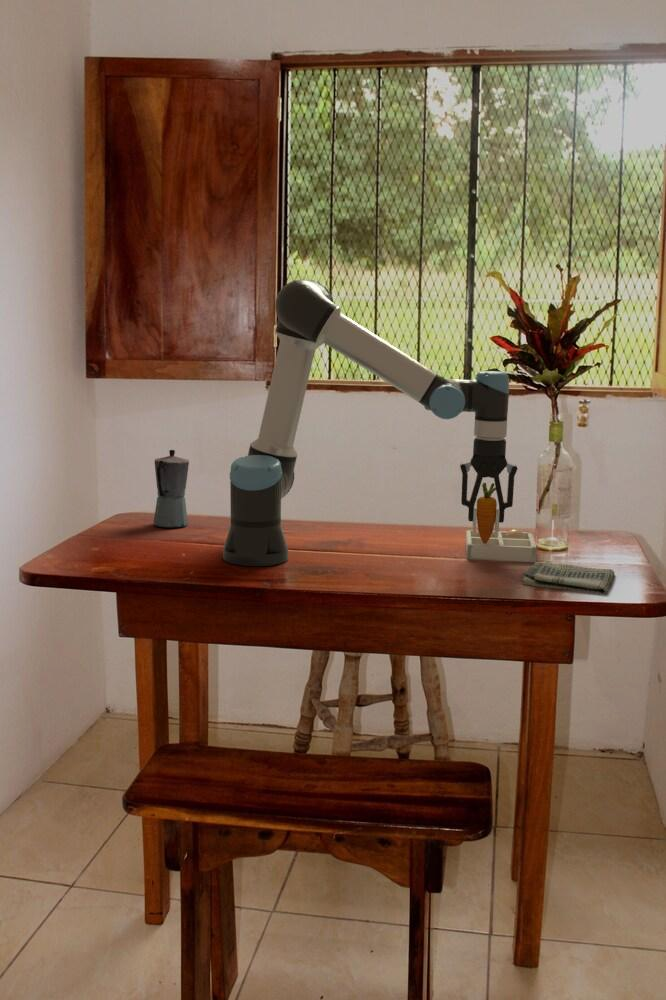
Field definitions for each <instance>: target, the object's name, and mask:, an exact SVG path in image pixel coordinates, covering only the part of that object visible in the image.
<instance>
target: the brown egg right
mask: <svg viewBox="0 0 666 1000" xmlns="http://www.w3.org/2000/svg"><path fill="white" fill-rule="evenodd" d="M507 532H508V533H507V534H506V537H505V538H510V539H524V534H523V533H522V532H523V531H521V530H520V529H517V528H513V529H510V530H509V531H507Z"/></svg>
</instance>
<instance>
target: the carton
mask: <svg viewBox="0 0 666 1000" xmlns="http://www.w3.org/2000/svg"><path fill="white" fill-rule="evenodd" d="M477 530H478V529H476V532H477ZM508 532H509V531H504V530H503V531H502V530H499V532H498V537H495V530H493V532H492V533H493V538H489V540H488V542H487V543H486V544H484V543H483V542H482V540H481V537H475V536H473V535H472V529H466V530H465V551H466V560H470V561H471V560H473V561H493V562H494V561H495V562H499V561H500V562H520V563H535V562H537V545H536V541H535V539H534V536H533V533H532V532H530V531H529V532H526V531H521V532H522V533H523V534H524V539H510V538H505V537H506V534H507V533H508Z"/></svg>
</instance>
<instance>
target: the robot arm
mask: <svg viewBox="0 0 666 1000" xmlns="http://www.w3.org/2000/svg"><path fill="white" fill-rule="evenodd" d="M274 307H275V308H274V309H275V313H276V316H277V318H278V320H277V322H276V323H277V324H276V328H275V334H276V335H277V336H276V337H278V339H279V345H278V349H277V354H276V357H275V363H274V365H273V366H274V367H273V370H272V375H271V380H270V384H269V389H268V392H267V396H266V397H267V398H266V402H265V406H264V411H263V415H262V420H261V424H260V428H259V433H258V437H257V439H255V440H253V441H252V442H250V445H249V449H248V452H247V455H245V456H240V457H237V458H236V459H235V460H234V461H232V463H231V465H230V472H229V480H230V483H229V484H230V486H229V487H230V526H229V527H230V528H229V531H228V534H227V537H226V540H225V543H224V546H223V549H222V559H223V561H225V562H226V563H229V564H231V565H235V566H242V567H243V566H244V567H267V566H274V565H279V564H283V563H285V562H287V561H288V560H289V548H288V547H289V546H288V544H287V541H286V539H285V535H284V531H283V529H282V499H283V498H284V497H285V496H287V494H288V493H289V492H290V491H291V489H292V487H293V485H294V481H295V466H296V461H297V458H298V453H297V451H296V450H295V448H294V443H295V438H296V435H297V431H298V425H299V421H300V417H301V413H302V408H303V404H304V400H305V396H306V391H307V388H308V387H307V386H308V383H309V378H310V374H311V369H312V366H313V361H314V357H315V353H316V349H318V348H319V347H321V346H323V344H325V346H328V347H330V348H331V349H333V350H334V351H336V352H338V353H340V354H341V355H343V356H344V357H345V358H347V359H349V360H350V361H352V362H353V363H356V364H357V365H359V366H360V367H362V368H363V369H364V370H366V371H368V372H370V373H371V374H372V375H374V376H376V377H378V378H379V379H381V380H382V381H384V382H386V383H387V384H389V385H391V386H392V387H393V388H396V390H399V392H402V393H403V394H405V395H406V396H408V397H410V398H411V399H412V400H415V401H416V402H418V403H419V404H421V405H422V406H424V407H423V408H424V409H425V410H426V411H431V413H433V414H434V416H436V417H438V418H440V419H442V420H451V419H454V418H457V417H458V416H459V415H460V414H461V413H462V412H465V413H466V412H468V413H474V428H473V430H474V431H473V435H474V437H475V438H474V439H473V445H472V446H473V449H472V450H473V451H472V457H471V458H470V461H467V462H461V463H460V465H459V467H460V471H461V475H462V477H461V478H462V480H461V505H462V506H465V507H467V508H468V514H467V516H468V517H467V518H468V521H469V522H472V529H471V530H472V535H473V536H476V530H477V506H475V505H476V503H477V499H478V498H477V497H478V495H479V492H480V487H481V486H482V485H481V484H482V481H483V478H491V479H493V480H494V488H495V487H496V490H495V491H496V496H497V502H498V507H497V508H496V518H495V524H494V531H495V537H498V532H499V531H500V530H499V529H500V528H499V527H500V523H501V524H502V523H504V521H505V510H506V509H507V508H508V509H509V508H512V507H513V503H514V489H515V488H514V487H515V476H516V474H517V471H518V466H517V465H516V464H511V463H509V462H508V460H507V459H506V452H507V440H506V439H505V438H506V437H507V433H508V429H507V428H508V411H509V410H508V409H509V396H510V390H509V389H510V376H509V375H508V374H507V372H505V371H497V370H495V371H494V370H488V371H487V370H486V371H485V370H482V371H481V370H480V371H478V372H477V374H476V377H475V379H459V378H458V379H457V378H456V379H455V378H445V377H443V376H442V375H440V374H438V373H436V372H435V371H433V370H431V369H430V368H429V367H427V366H425V365H424V364H422V363H421V362H419V361H417V360H416V359H414V358H412V357H411V356H410V355H408V354H406V353H405V352H403V351H401V350H400V349H399V348H397V347H395V346H393V345H392V344H391V343H389V342H387V341H386V340H385V339H382V338H381V337H379V336H378V335H376V334H375V333H373V332H371V331H370V330H368V329H367V328H365V327H363V326H362V325H360V324H359V323H358V322H355V321H354V320H353V319H351V318H349V317H347V316H346V315H344V314H343V313H342V311H341V307H340V306H339V305H337V304H336V303H335V302H334V299H333V296H332V293H330V291H329V290H328V288H327V287H326V286H325V285H324V284H322V283H321V282H318V281H316V280H312V279H296V280H292V281H290V282H288V283H286V284H285V285H284V286H282V288H281V289H280V291H278V293H277V296H276V300H275V305H274ZM471 467H472V468H473V470H474V471H475V472H476V477H475V481H474V485H473V487H472V488H473V489H472V492H471V495H470V499H469V500H468V479H469V478H468V477H469V474H468V473H469V472H470V470H471ZM505 468H506V471H507V473H508V477H507V479H508V480H507V481H508V482H507V495H506V501H504V496H503V491H502V490H503V489H502V486H501V481H500V480H501V479H500V474H501V473H502V472H503V471H504V470H505Z"/></svg>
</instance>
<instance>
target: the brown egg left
mask: <svg viewBox="0 0 666 1000" xmlns="http://www.w3.org/2000/svg"><path fill="white" fill-rule="evenodd" d="M476 530H477V532H476V536H475V537H480V535H479V531H478V529H476ZM490 538H493V533H492V534H491V537H490Z"/></svg>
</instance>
